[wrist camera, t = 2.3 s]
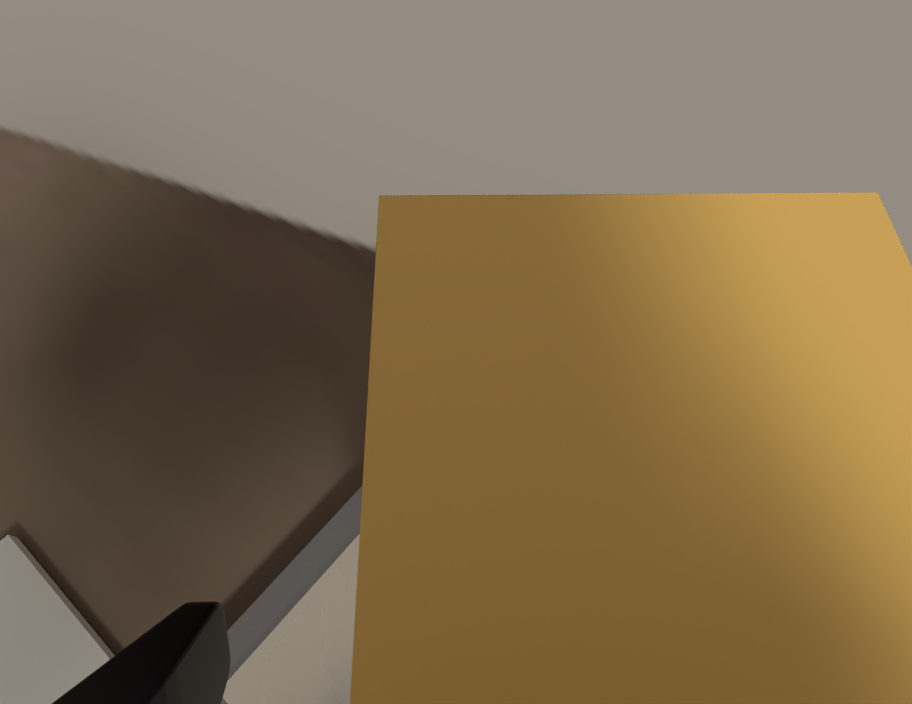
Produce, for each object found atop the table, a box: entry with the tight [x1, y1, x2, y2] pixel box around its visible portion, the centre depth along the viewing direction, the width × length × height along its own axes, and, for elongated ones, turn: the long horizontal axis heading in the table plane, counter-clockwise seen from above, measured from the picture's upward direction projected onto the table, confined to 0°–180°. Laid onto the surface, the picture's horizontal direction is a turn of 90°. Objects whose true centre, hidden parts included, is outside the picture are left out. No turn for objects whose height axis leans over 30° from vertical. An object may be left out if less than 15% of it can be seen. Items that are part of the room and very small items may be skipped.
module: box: [350, 193, 912, 704], centre depth 10 cm, size 4×4×12 cm
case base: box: [221, 486, 362, 704], centre depth 15 cm, size 11×10×1 cm
